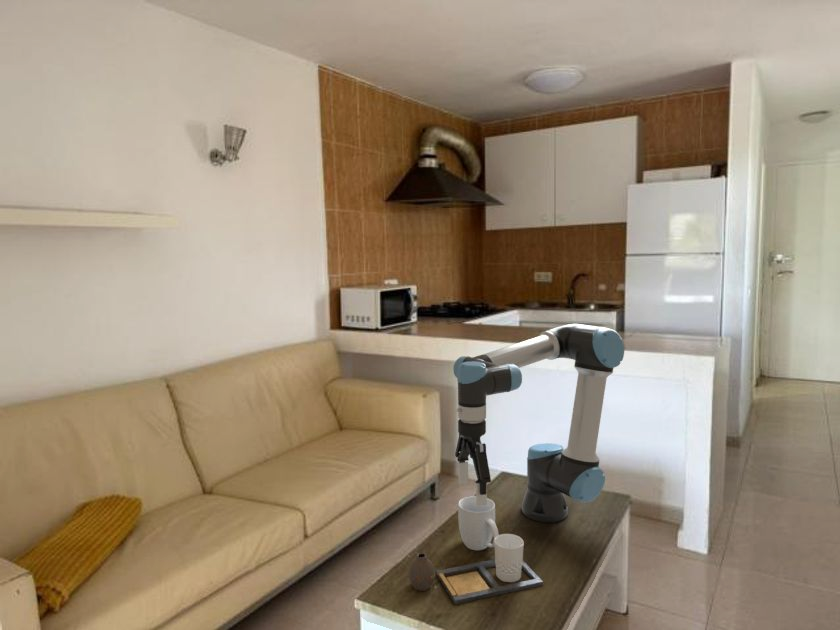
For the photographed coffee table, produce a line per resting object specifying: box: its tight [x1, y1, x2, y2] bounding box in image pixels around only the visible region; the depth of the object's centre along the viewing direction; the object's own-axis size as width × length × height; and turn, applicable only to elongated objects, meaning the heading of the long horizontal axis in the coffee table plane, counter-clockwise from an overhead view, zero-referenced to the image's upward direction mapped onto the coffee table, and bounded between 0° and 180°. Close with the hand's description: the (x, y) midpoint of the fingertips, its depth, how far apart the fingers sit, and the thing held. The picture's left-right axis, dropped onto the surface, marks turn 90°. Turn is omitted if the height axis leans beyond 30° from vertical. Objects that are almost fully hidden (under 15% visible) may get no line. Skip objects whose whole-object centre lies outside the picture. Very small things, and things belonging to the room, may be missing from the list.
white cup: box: [493, 533, 525, 583], centre depth 155 cm, size 8×8×10 cm
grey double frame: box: [435, 558, 544, 605], centre depth 154 cm, size 25×14×1 cm, turn 108°
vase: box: [408, 552, 436, 592], centre depth 151 cm, size 7×7×9 cm
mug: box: [457, 495, 500, 551], centre depth 169 cm, size 15×11×13 cm
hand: (472, 494), depth 157 cm, fingers open, 13 cm apart
